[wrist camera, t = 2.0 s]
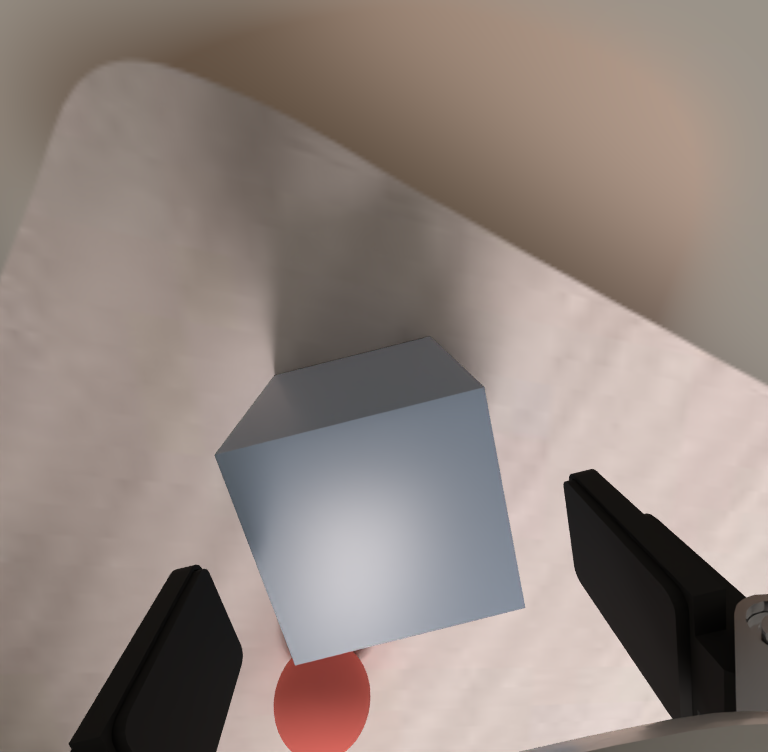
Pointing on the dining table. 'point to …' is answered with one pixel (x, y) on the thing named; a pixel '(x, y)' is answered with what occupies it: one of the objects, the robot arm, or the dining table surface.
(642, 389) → the dining table surface
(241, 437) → the pale blue cube
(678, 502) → the dining table surface
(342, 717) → the ball
